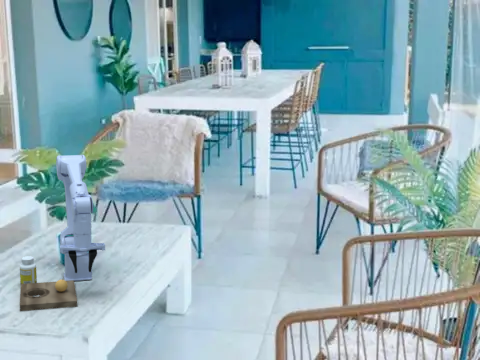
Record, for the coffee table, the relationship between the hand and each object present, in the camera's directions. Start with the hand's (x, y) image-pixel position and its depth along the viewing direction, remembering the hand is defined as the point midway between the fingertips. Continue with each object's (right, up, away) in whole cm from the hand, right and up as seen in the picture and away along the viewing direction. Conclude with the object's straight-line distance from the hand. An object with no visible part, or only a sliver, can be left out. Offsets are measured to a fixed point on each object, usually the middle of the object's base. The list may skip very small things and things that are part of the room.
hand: (82, 271), depth 218 cm
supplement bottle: (-21, -6, +9) cm, 23 cm away
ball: (-7, -4, -1) cm, 8 cm away
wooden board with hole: (-11, -8, -1) cm, 14 cm away
